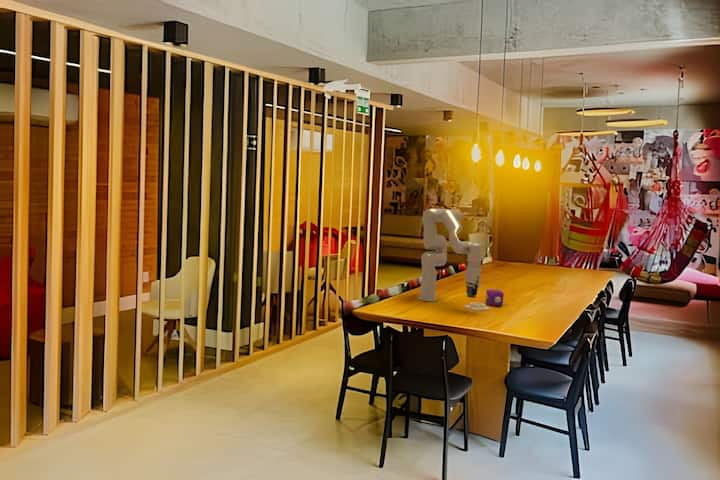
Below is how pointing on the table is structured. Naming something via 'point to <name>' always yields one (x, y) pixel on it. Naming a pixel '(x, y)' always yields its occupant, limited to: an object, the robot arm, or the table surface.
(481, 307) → the lens mount
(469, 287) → the lens
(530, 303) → the table surface
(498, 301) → the toy camera
